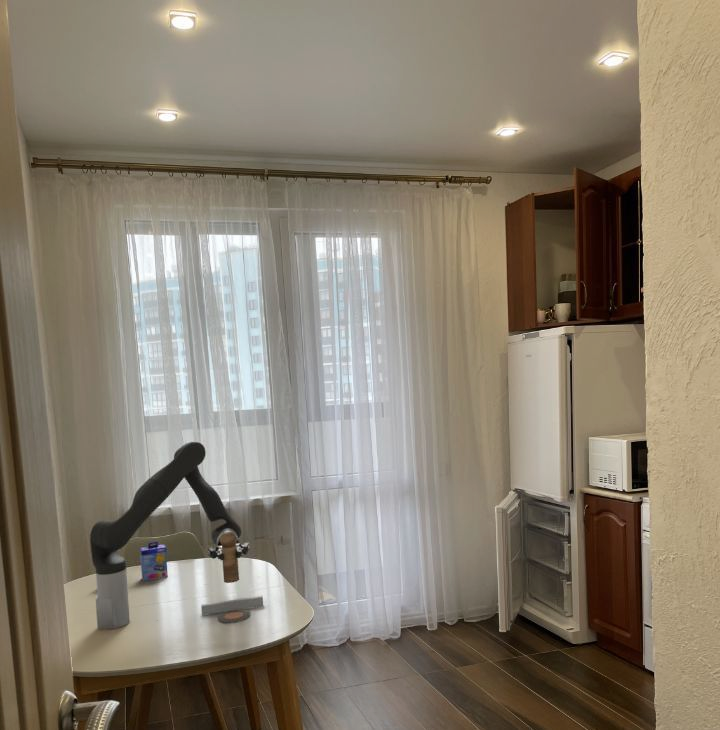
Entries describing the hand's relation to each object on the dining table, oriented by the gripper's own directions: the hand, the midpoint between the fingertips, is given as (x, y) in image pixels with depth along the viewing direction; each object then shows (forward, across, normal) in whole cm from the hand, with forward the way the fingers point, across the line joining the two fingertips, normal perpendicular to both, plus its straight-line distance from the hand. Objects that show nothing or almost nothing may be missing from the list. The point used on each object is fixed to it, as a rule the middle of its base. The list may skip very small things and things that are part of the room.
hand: (230, 555), depth 213 cm
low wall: (-10, 0, +20) cm, 23 cm away
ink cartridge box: (-65, -29, +21) cm, 74 cm away
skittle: (-3, 0, +8) cm, 9 cm away
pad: (-2, 0, +20) cm, 20 cm away
